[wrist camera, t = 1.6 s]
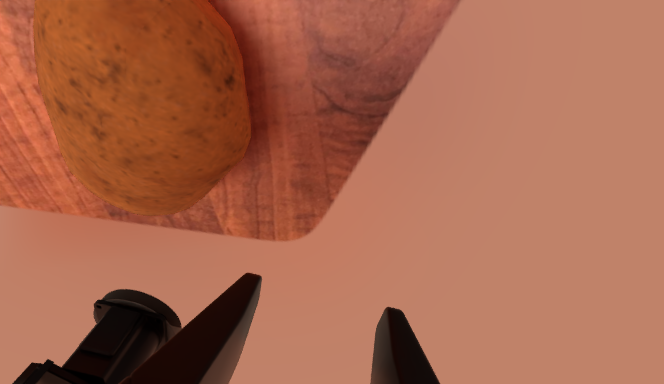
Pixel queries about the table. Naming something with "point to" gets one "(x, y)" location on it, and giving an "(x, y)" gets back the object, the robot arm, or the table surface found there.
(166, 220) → the table surface
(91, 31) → the potato
